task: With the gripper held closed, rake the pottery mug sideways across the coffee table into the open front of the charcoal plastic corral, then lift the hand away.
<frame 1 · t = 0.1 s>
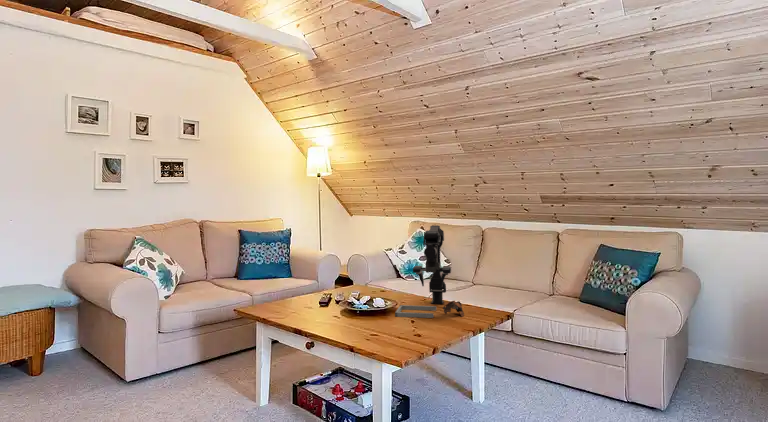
hand: (432, 286, 251), 15 cm above the table, tool pointing down, fingers open, 9 cm apart
tray: (416, 313, 257), on the table
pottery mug: (454, 315, 253), on the table
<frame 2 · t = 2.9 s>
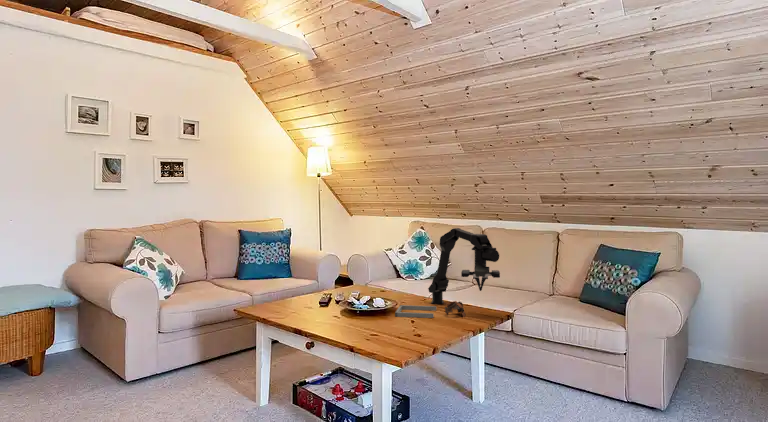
hand: (480, 290, 250), 13 cm above the table, tool pointing down, fingers closed
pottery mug: (456, 315, 252), on the table
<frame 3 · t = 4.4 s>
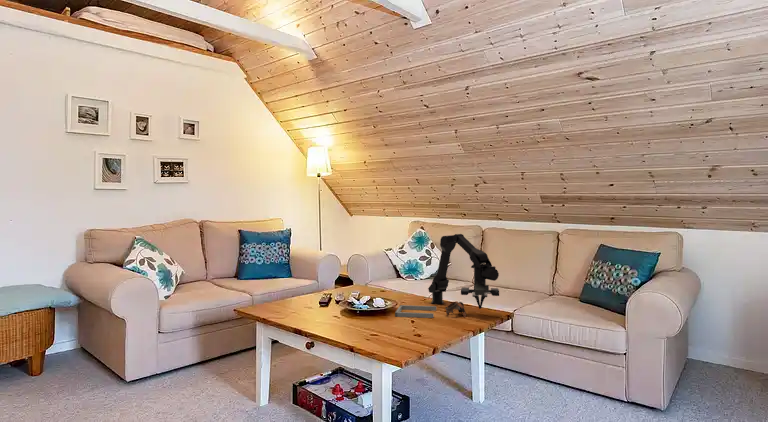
hand: (480, 308, 251), 3 cm above the table, tool pointing down, fingers closed
nothing on the table moved.
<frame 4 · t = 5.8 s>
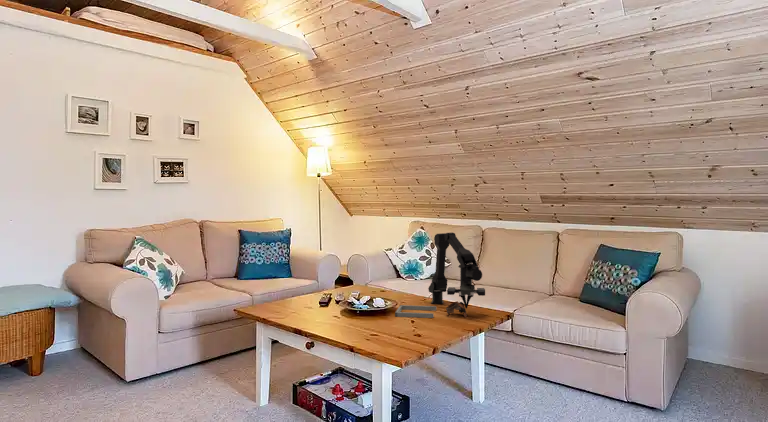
hand: (466, 308, 252), 3 cm above the table, tool pointing down, fingers closed
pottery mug: (457, 316, 251), on the table, touching gripper
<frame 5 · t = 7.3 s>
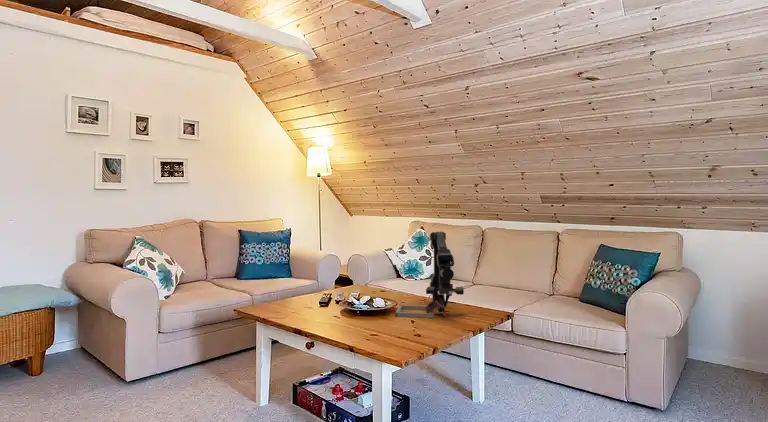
hand: (445, 307, 254), 4 cm above the table, tool pointing down, fingers closed
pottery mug: (437, 315, 253), on the table, touching gripper
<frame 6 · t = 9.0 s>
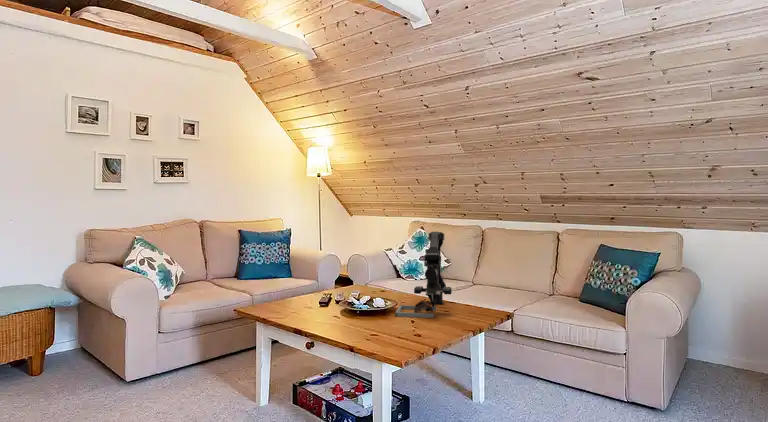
hand: (433, 307, 255), 4 cm above the table, tool pointing down, fingers closed
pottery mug: (424, 315, 254), on the table, touching gripper
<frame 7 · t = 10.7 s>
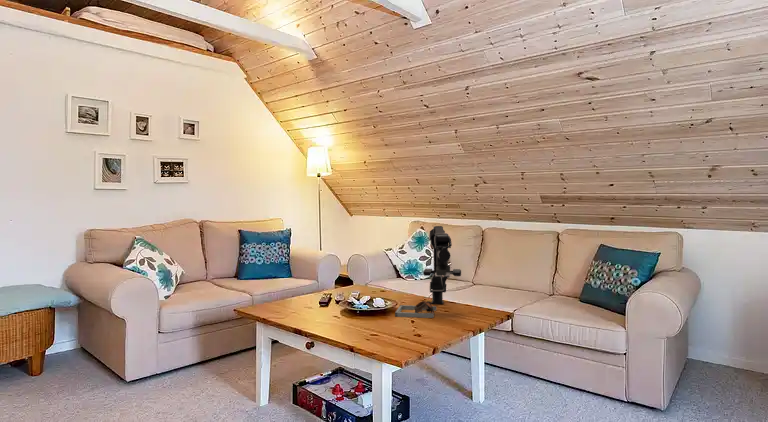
hand: (442, 289, 254), 13 cm above the table, tool pointing down, fingers closed
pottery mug: (425, 315, 254), on the table
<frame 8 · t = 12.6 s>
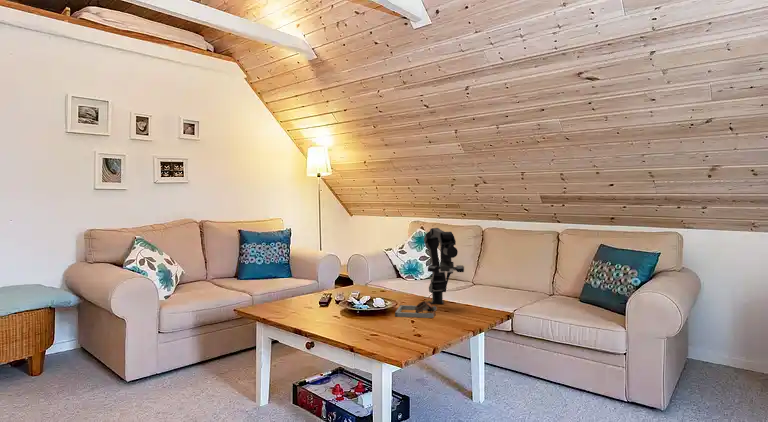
hand: (446, 284, 264), 13 cm above the table, tool pointing down, fingers closed
nothing on the table moved.
at the end: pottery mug inside the target area (6.8 cm from its centre), on the table; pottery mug tilted 0°; the gripper is holding nothing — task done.
